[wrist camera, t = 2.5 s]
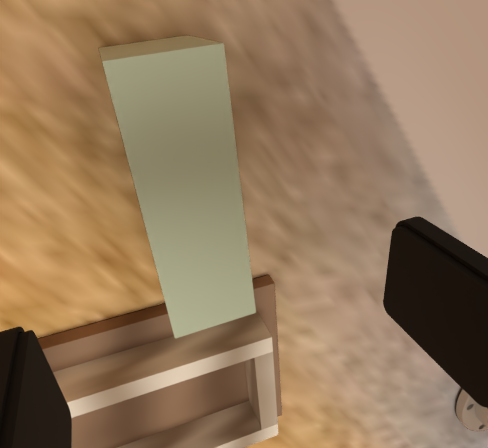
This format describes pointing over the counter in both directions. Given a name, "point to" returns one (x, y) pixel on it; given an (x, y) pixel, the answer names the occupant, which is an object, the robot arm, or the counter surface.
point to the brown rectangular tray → (171, 379)
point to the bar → (185, 174)
